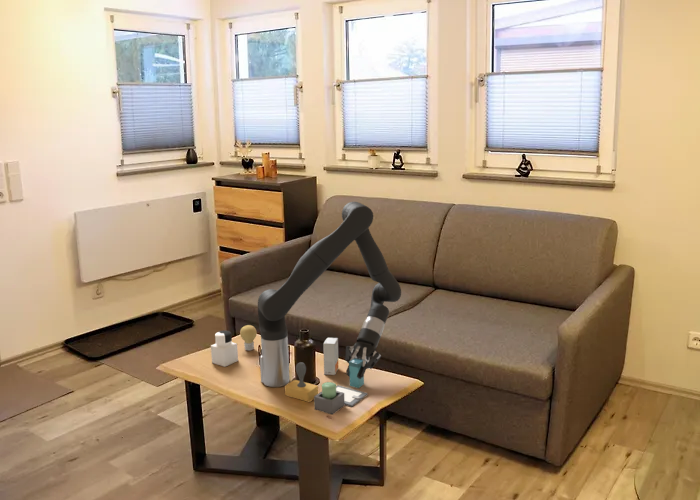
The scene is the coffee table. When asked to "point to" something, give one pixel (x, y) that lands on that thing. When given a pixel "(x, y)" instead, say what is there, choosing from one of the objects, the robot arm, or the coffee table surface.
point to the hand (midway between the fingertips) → (353, 376)
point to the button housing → (329, 403)
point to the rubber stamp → (301, 386)
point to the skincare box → (330, 356)
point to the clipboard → (351, 395)
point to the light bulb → (248, 336)
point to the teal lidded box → (355, 373)
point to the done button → (329, 390)
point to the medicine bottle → (224, 349)
